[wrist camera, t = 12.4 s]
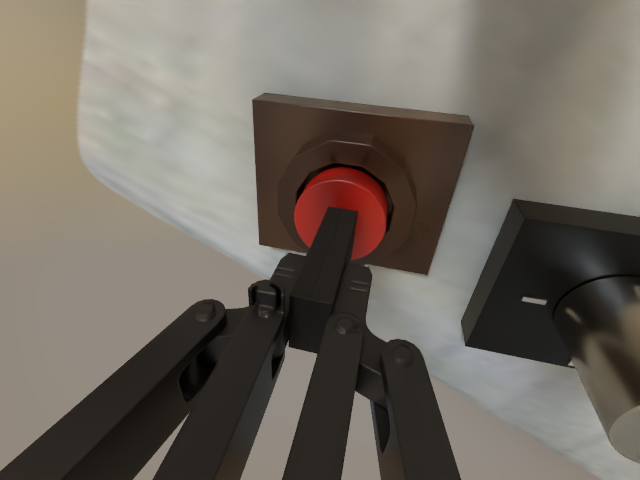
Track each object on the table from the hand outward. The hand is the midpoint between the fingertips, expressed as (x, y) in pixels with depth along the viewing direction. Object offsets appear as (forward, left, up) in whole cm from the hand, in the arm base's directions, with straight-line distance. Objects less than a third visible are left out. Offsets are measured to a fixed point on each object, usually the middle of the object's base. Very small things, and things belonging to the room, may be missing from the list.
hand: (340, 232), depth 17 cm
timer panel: (-17, +5, -6) cm, 19 cm away
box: (0, 0, -6) cm, 6 cm away
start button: (0, 0, -3) cm, 3 cm away
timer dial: (-17, +5, -4) cm, 18 cm away
